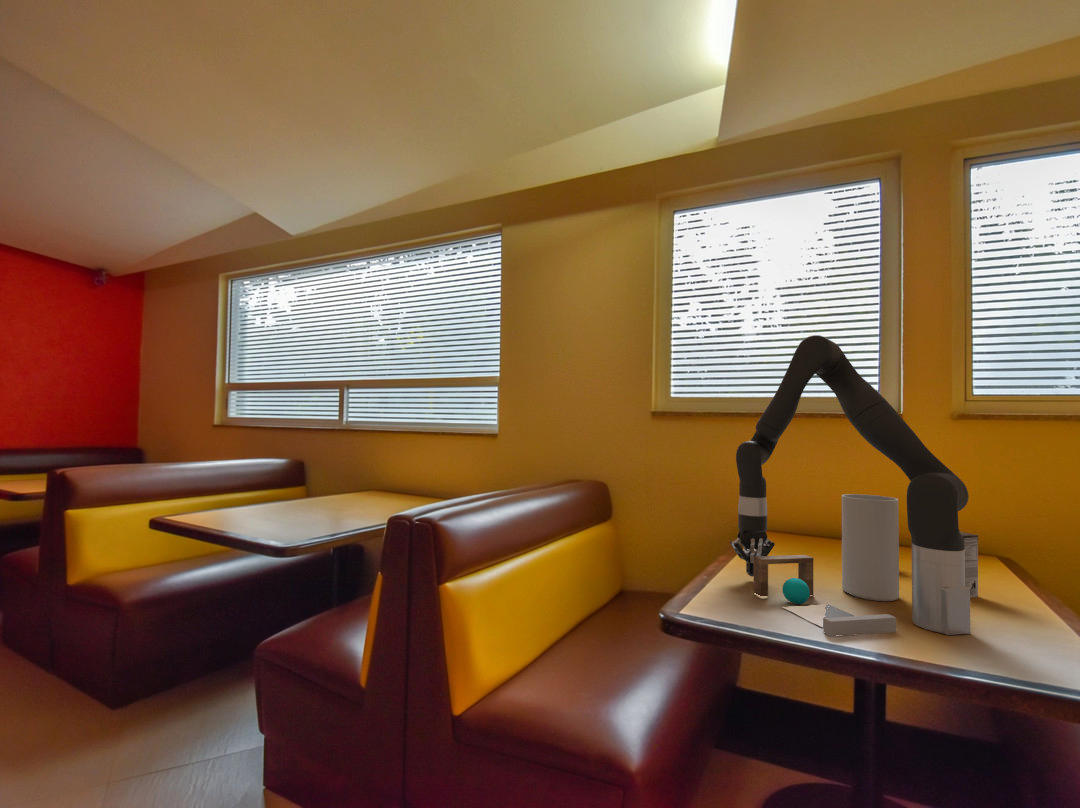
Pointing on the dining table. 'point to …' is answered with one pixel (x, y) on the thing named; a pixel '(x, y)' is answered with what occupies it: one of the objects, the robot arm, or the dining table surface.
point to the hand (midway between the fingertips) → (752, 575)
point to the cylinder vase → (870, 547)
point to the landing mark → (835, 612)
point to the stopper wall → (859, 625)
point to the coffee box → (971, 563)
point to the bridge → (762, 563)
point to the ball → (796, 591)
